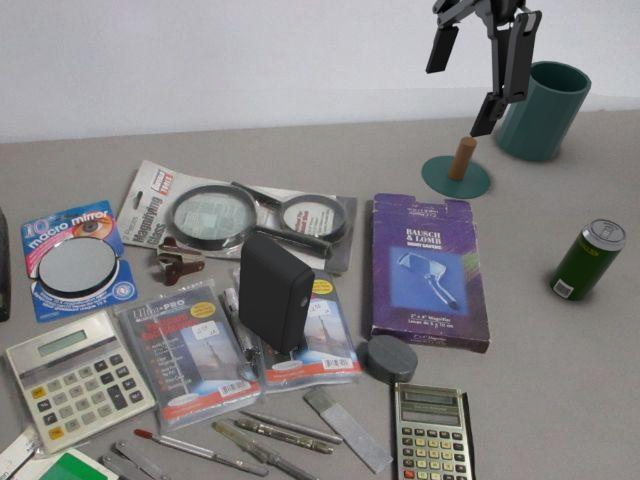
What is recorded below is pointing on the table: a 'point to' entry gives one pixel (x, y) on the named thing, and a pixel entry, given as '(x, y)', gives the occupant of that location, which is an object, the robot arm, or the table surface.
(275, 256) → the black rectangular block
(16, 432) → the table surface
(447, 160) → the tin lid
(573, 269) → the beer can
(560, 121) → the tin
